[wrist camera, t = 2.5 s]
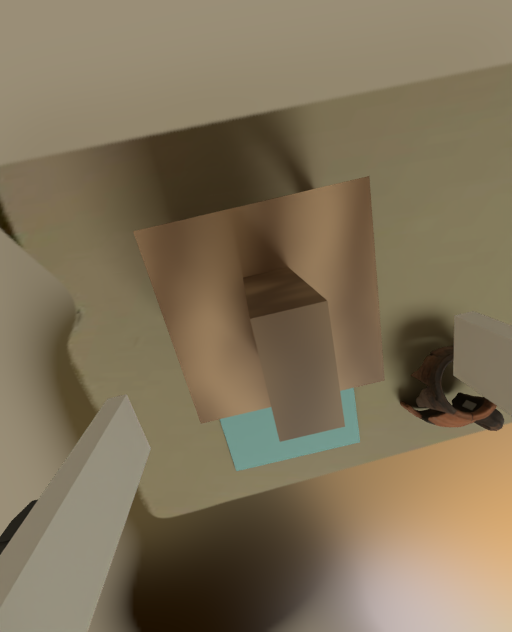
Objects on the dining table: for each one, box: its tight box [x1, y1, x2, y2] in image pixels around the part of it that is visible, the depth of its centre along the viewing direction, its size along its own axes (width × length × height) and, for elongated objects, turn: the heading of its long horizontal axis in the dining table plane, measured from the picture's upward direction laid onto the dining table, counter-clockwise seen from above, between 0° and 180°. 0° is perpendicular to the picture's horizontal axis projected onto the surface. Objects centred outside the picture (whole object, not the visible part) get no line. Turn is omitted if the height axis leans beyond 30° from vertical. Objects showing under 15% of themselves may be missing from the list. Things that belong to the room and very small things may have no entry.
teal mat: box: [220, 388, 360, 471], centre depth 35 cm, size 17×16×1 cm
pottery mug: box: [400, 346, 504, 431], centre depth 34 cm, size 12×10×8 cm
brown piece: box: [133, 176, 385, 442], centre depth 21 cm, size 14×14×20 cm
